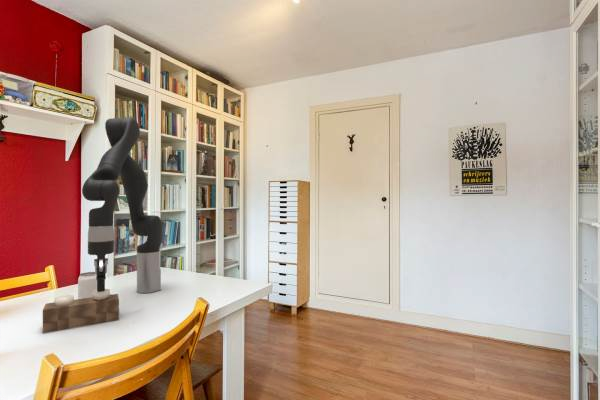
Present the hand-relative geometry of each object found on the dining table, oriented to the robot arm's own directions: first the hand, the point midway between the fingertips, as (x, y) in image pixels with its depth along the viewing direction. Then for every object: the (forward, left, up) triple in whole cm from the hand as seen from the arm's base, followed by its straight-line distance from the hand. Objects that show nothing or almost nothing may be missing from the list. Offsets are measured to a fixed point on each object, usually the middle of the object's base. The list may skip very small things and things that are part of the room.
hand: (100, 291), depth 107 cm
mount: (+5, 0, -10) cm, 11 cm away
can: (+4, -20, -10) cm, 23 cm away
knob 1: (+10, 0, -8) cm, 13 cm away
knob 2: (0, 0, -8) cm, 8 cm away
